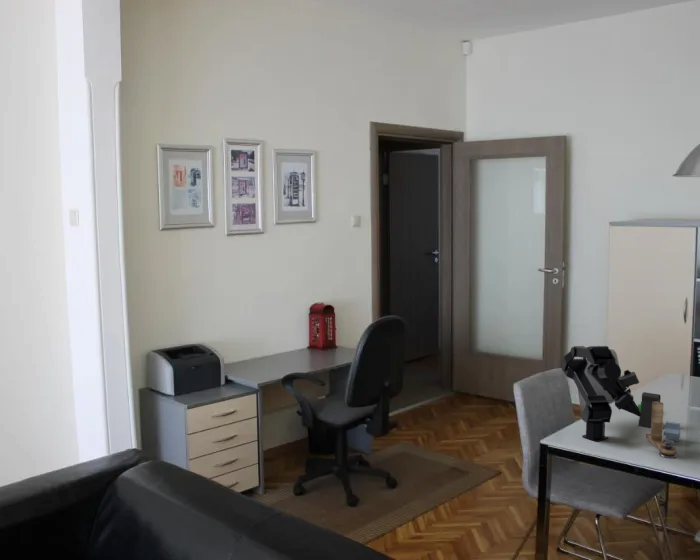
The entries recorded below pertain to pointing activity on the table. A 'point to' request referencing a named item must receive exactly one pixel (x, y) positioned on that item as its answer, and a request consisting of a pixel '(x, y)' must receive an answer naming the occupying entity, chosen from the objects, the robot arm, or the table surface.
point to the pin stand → (668, 445)
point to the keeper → (672, 431)
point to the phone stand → (647, 408)
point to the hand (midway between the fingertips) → (639, 412)
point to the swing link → (658, 429)
